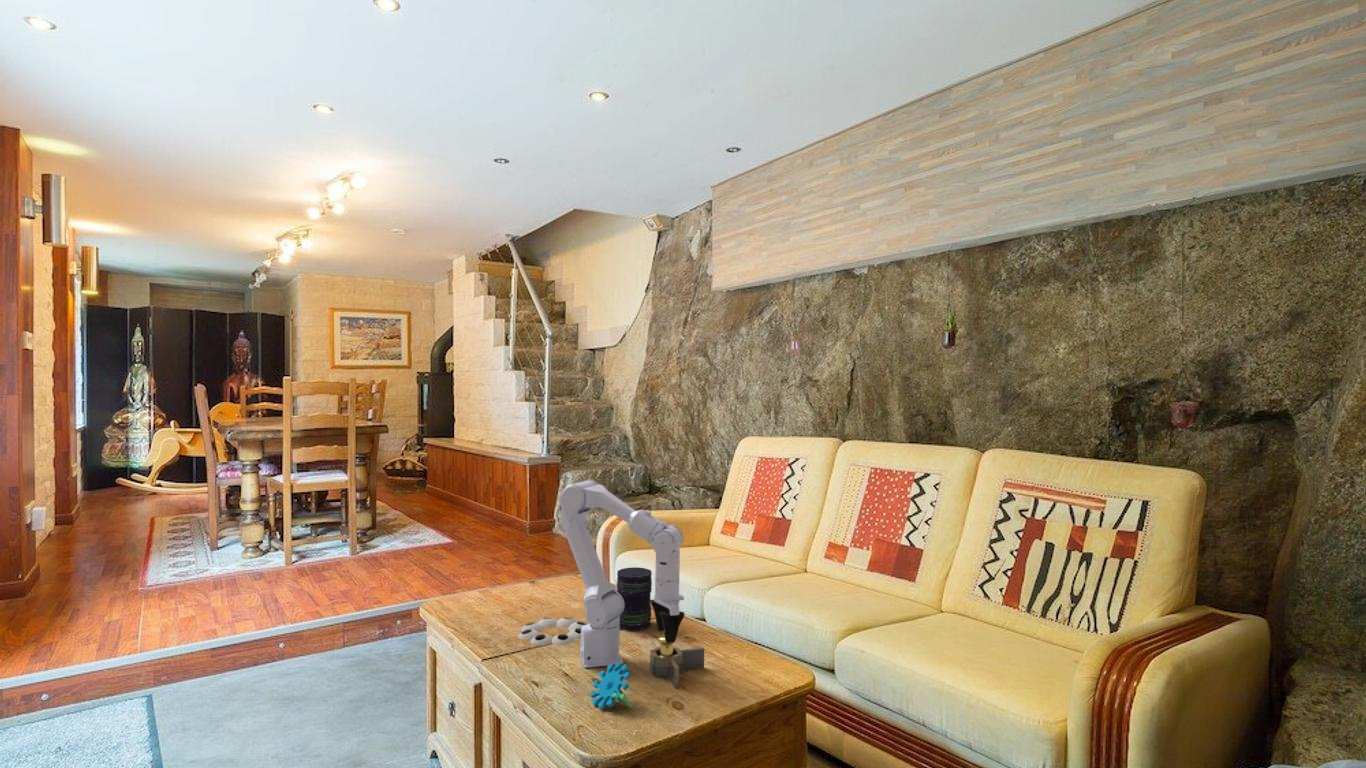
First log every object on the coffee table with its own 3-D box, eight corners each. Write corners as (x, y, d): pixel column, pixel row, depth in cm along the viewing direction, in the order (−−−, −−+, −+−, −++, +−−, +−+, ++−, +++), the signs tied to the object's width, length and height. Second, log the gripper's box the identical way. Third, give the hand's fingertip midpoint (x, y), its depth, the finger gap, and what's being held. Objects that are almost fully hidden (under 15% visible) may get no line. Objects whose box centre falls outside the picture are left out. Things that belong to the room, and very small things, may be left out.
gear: (582, 689, 148) (614, 652, 151) (598, 702, 151) (630, 666, 153) (602, 717, 139) (636, 678, 141) (619, 732, 141) (652, 693, 144)
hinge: (661, 689, 152) (661, 669, 152) (647, 666, 165) (648, 647, 165) (715, 683, 156) (716, 663, 156) (698, 660, 168) (698, 642, 168)
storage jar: (618, 618, 197) (619, 566, 197) (652, 619, 197) (653, 567, 197) (613, 631, 188) (614, 576, 188) (649, 632, 187) (650, 577, 187)
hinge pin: (659, 675, 159) (660, 641, 159) (656, 668, 163) (656, 635, 163) (676, 673, 160) (677, 639, 160) (672, 667, 164) (673, 633, 164)
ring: (600, 640, 182) (600, 633, 182) (527, 652, 173) (527, 644, 173) (578, 617, 199) (578, 610, 199) (510, 627, 191) (510, 619, 191)
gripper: (692, 586, 156) (691, 645, 156) (675, 569, 170) (674, 624, 170) (662, 588, 154) (661, 648, 154) (647, 571, 168) (646, 626, 168)
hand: (666, 636), depth 162 cm, fingers open, 7 cm apart
